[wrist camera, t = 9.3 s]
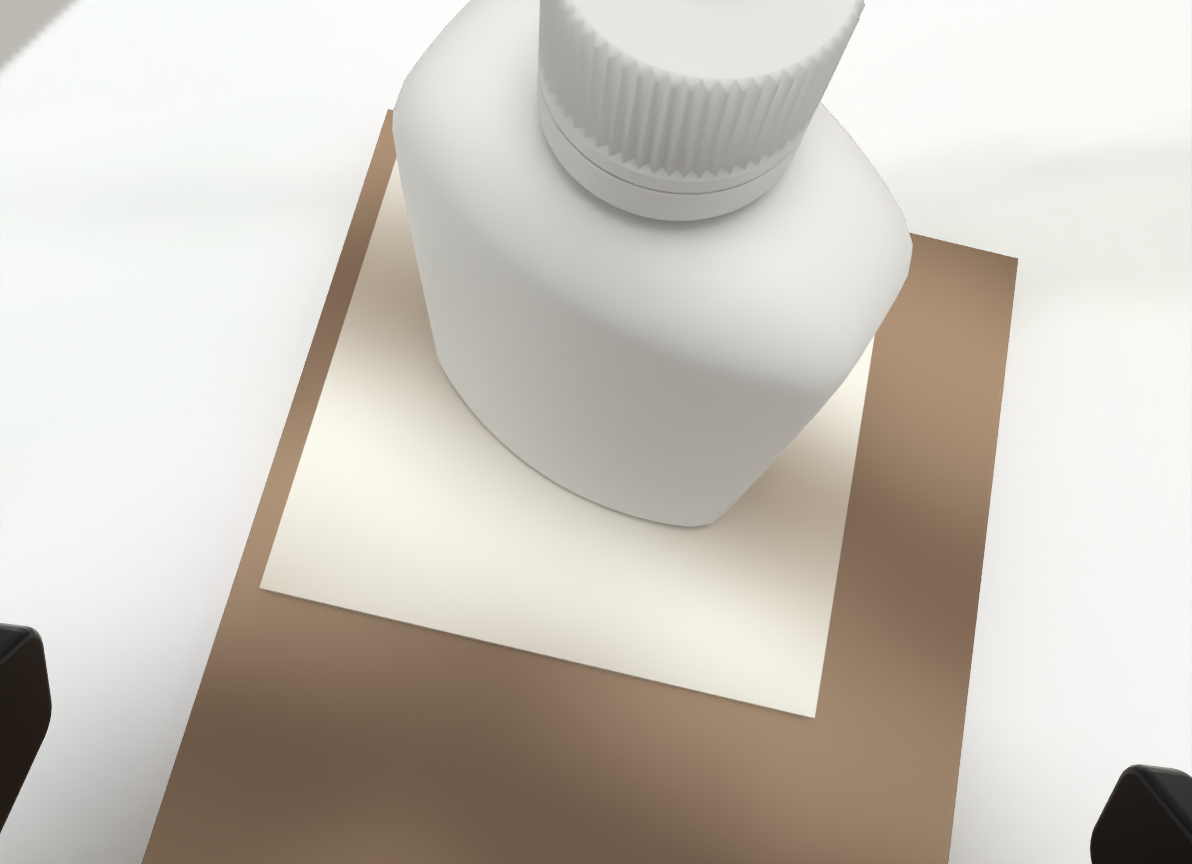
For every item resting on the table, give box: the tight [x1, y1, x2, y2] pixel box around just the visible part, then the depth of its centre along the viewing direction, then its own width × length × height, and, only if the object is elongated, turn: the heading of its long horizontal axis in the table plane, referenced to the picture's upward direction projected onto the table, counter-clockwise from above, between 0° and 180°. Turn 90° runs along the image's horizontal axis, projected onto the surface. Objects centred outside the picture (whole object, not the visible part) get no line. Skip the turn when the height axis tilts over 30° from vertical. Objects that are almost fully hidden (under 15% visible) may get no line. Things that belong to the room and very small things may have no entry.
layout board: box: [142, 109, 1018, 864], centre depth 16 cm, size 24×12×1 cm, turn 167°
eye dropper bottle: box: [392, 0, 913, 527], centre depth 12 cm, size 4×6×12 cm
